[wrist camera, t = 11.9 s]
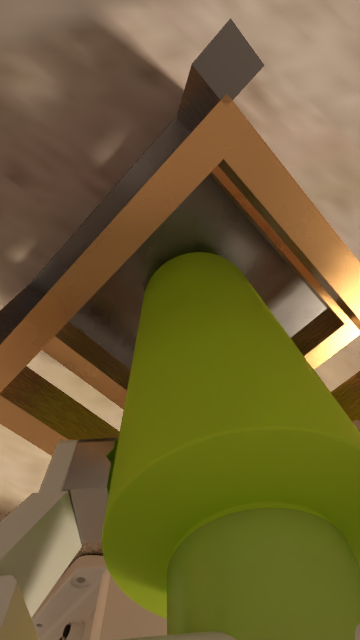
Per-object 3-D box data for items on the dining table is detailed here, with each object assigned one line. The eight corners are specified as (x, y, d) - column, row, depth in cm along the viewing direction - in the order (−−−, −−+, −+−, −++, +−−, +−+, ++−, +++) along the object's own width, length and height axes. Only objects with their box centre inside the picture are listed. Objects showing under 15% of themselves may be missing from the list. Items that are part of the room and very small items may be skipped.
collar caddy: (188, 421, 25) (203, 569, 16) (22, 293, 20) (-90, 396, 11) (350, 289, 21) (492, 382, 12) (193, 98, 17) (230, 18, 8)
